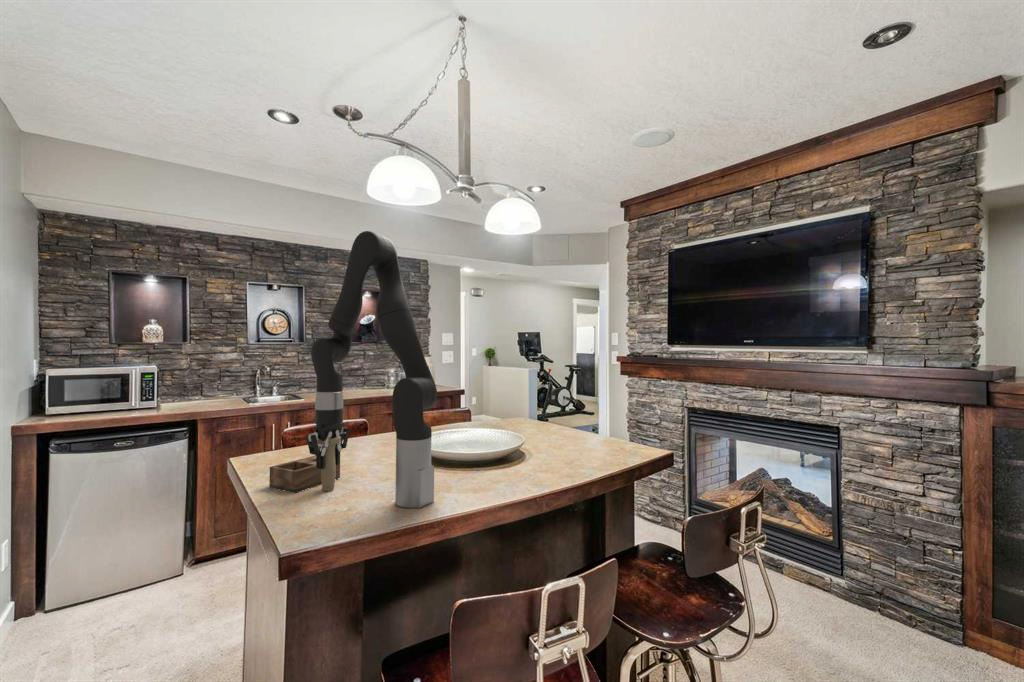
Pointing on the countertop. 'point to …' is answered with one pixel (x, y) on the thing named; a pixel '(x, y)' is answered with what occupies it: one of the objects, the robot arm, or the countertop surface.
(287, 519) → the countertop surface
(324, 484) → the handle
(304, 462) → the socket block
